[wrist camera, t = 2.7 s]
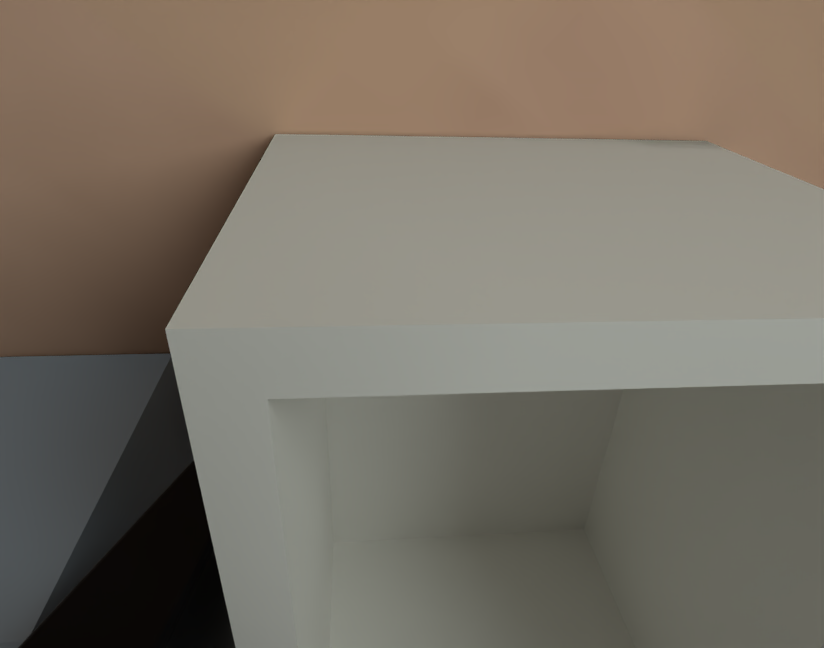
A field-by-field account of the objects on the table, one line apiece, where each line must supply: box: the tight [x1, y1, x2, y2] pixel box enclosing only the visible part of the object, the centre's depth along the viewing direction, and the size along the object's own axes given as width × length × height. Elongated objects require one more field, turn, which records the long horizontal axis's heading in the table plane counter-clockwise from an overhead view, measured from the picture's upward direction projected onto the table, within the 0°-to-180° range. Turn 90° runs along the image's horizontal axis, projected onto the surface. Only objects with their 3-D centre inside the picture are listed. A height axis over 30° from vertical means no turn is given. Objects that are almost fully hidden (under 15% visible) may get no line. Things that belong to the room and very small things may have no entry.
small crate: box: [165, 134, 824, 648], centre depth 7 cm, size 8×6×5 cm
